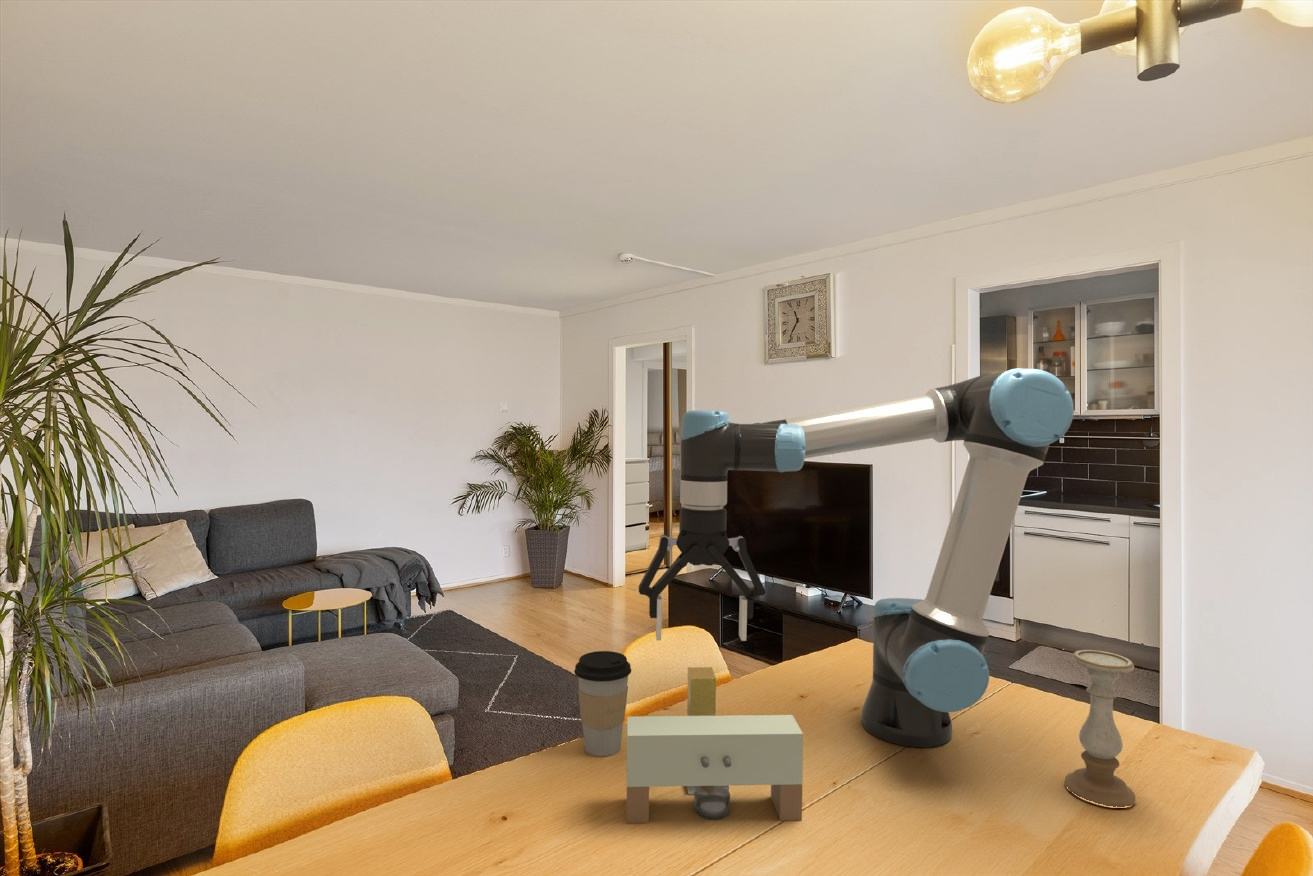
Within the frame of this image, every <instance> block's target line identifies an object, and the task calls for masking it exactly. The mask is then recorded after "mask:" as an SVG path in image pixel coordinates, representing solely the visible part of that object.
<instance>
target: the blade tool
mask: <svg viewBox="0 0 1313 876" xmlns="http://www.w3.org/2000/svg"><path fill="white" fill-rule="evenodd" d="M716 691H717V678H716V675H715V672H714V669H713V667H712V666H709V667H707V666H706V667H705V666H704V667H703V666H701V667H699V666H698V667H697V666H695V667H692V666H691V667H687V696H686V697H687V699H686V700H687V701H686V702H687V703H686V704H687V705H686V707H687V709H686V716H717V715H716V707H717V706H716V705H717V703H716V702H717V701H716V699H717V698H716V697H717V694H716V693H717V692H716ZM698 787H700V786H686V790H687V795H694V792H695V790H696V789H697V788H698ZM722 787H724V788H726V789H727V790H728V791H729V792H730V785H722Z"/></svg>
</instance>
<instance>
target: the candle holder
mask: <svg viewBox="0 0 1313 876" xmlns="http://www.w3.org/2000/svg"><path fill="white" fill-rule="evenodd" d="M1072 661H1073V662H1074V663H1076V664H1077V665H1078V666H1081V667H1084V668H1085V672H1086V674H1087V675H1088V676H1089V677H1090V680H1091V681H1090V685H1089V686H1088V687H1086V690H1085V691H1086V692H1087V693H1088V694H1089V696H1090V701H1089V702H1090V705H1089V712H1088V716H1087V718H1086V720H1085V721H1084V722H1083V724H1082V726H1081V728H1080V730H1079V733H1078V739H1079V742H1080V745H1081V746H1082V748H1083V749H1084V751H1082V752H1081V754H1080V757H1081V759H1082V761H1083V763H1084V765H1085V767H1084V768H1083V767H1082V768H1077V769H1075V770H1074V771H1073V772H1070V773H1068V774H1067V775H1066V776H1065V777H1064V786H1065V785H1066V786H1065V788H1066V787H1068V789H1069V790H1070V791H1071V792H1073V793H1074V794H1076V795H1077V796H1079V797H1082V798H1084V799H1086V800H1089V801H1093V802H1095V803H1098V804H1103V805H1106V806H1113V807H1116V806H1117V807H1125V806H1131V805H1132V804H1134V802H1135V803H1136V794H1135V793H1134V791H1133V790H1132V788H1130V786H1128V785H1127V784H1126V782H1125V781H1124V780H1123V779H1121V778H1120V777H1118V776H1116V775H1114V774H1115V773H1114V772H1115V771H1116V770H1117V769H1118V768H1119V767H1120V765H1121V764H1120V762H1119V760H1118V758H1116V757H1117V756H1119V754H1121V752H1122V750H1123V740H1122V737H1121V734H1120V731H1119V729H1118V728H1117V724H1116V722H1115V720H1114V711H1113V709H1114V708H1113V707H1114V705H1113V704H1114V699H1116V698H1117V697H1118V693H1117V692H1116V690H1115V688H1114V682H1116V680H1118V679H1119V678H1120V674H1128V673H1131V672H1133V671H1134V669H1135V665H1134V663H1133V661H1132V660H1131V659H1129V658H1127V657H1125V656H1122V655H1120V654H1116V653H1113V652H1108V651H1105V650H1104V651H1102V650H1095V649H1080V650H1076V651H1074V652H1073V654H1072ZM1134 805H1135V804H1134Z"/></svg>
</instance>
